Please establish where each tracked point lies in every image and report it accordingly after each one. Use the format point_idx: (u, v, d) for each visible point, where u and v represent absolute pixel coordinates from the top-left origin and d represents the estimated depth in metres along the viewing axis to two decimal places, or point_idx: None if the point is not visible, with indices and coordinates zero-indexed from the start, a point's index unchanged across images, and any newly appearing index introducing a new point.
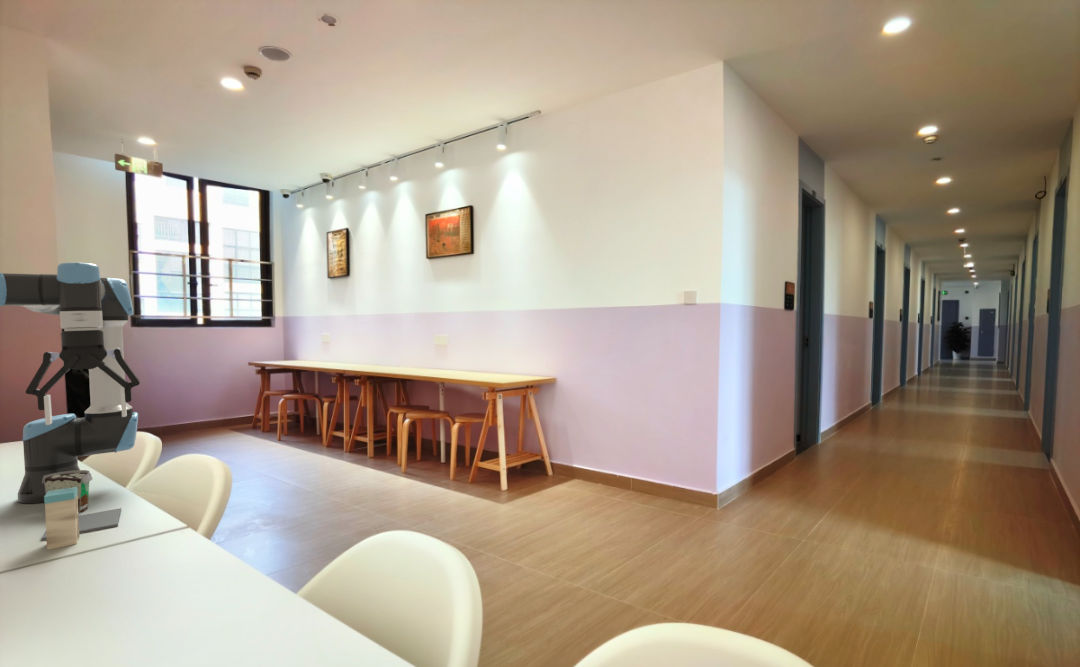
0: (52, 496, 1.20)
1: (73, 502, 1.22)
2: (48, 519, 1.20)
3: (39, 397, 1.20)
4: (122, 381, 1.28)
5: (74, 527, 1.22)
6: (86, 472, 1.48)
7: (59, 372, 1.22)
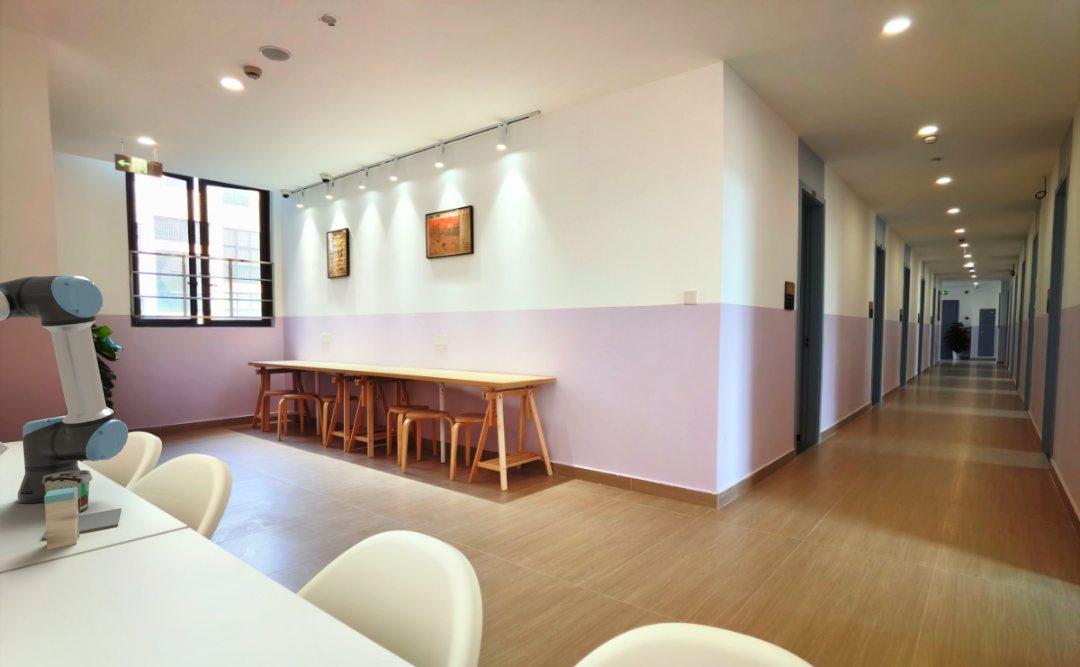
0: (52, 496, 1.20)
1: (73, 502, 1.22)
2: (48, 519, 1.20)
3: None
4: None
5: (74, 527, 1.22)
6: (86, 472, 1.48)
7: None
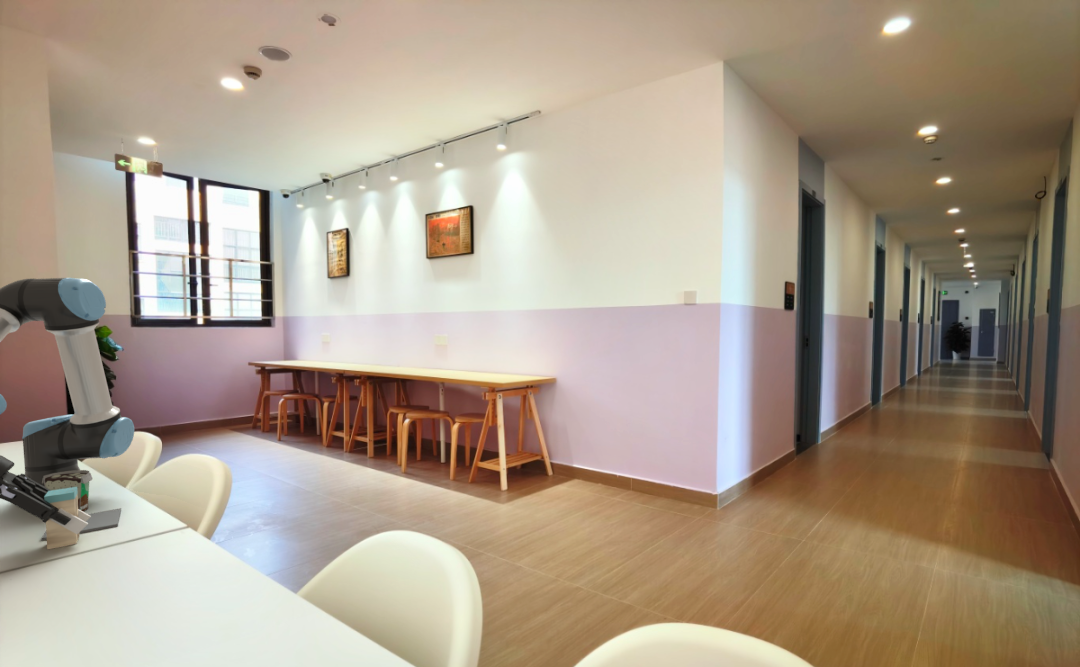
0: (52, 496, 1.20)
1: (73, 502, 1.22)
2: None
3: None
4: None
5: None
6: (86, 472, 1.48)
7: None
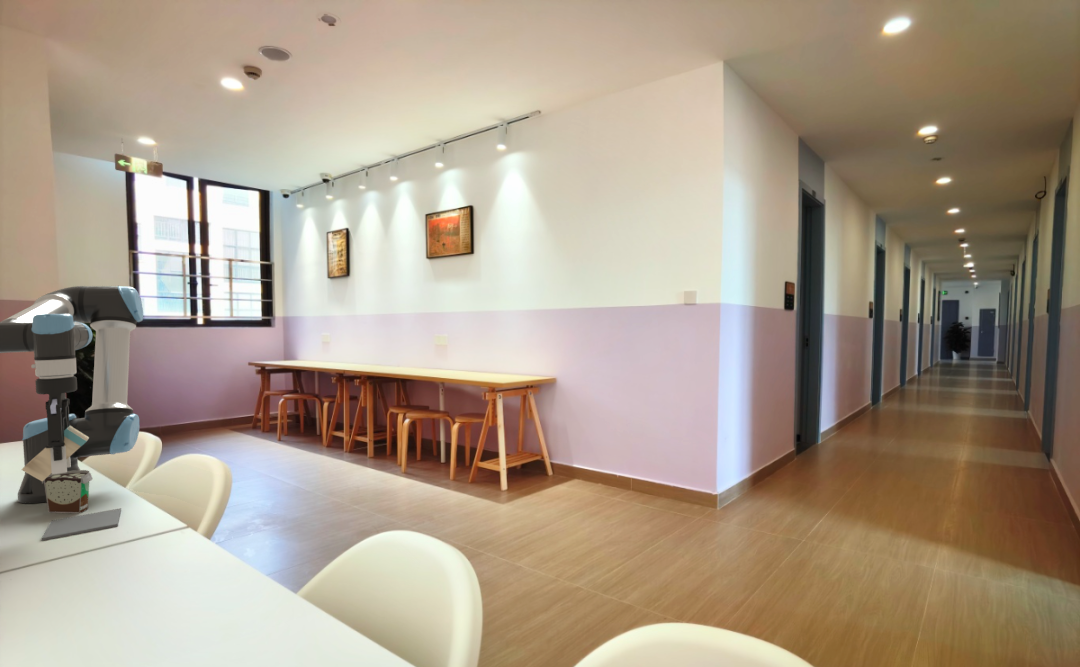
0: (71, 432, 1.31)
1: (77, 448, 1.32)
2: None
3: None
4: None
5: None
6: (86, 472, 1.48)
7: None
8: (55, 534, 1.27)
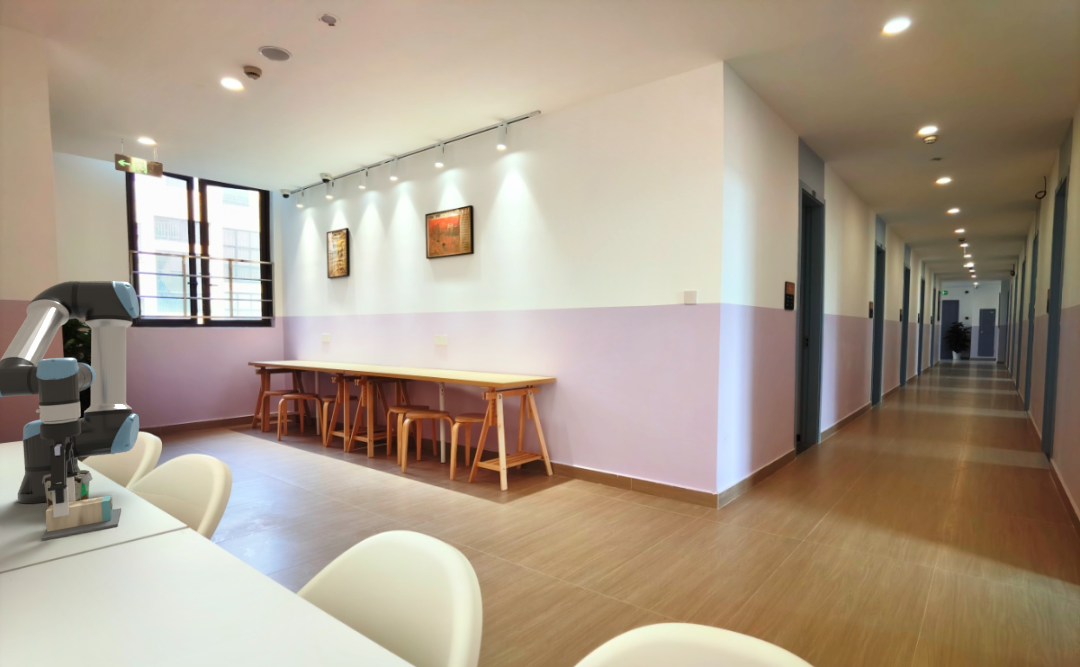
0: (108, 505, 1.35)
1: (98, 521, 1.34)
2: (82, 506, 1.32)
3: None
4: None
5: (68, 527, 1.31)
6: (86, 472, 1.48)
7: None
8: (55, 534, 1.27)
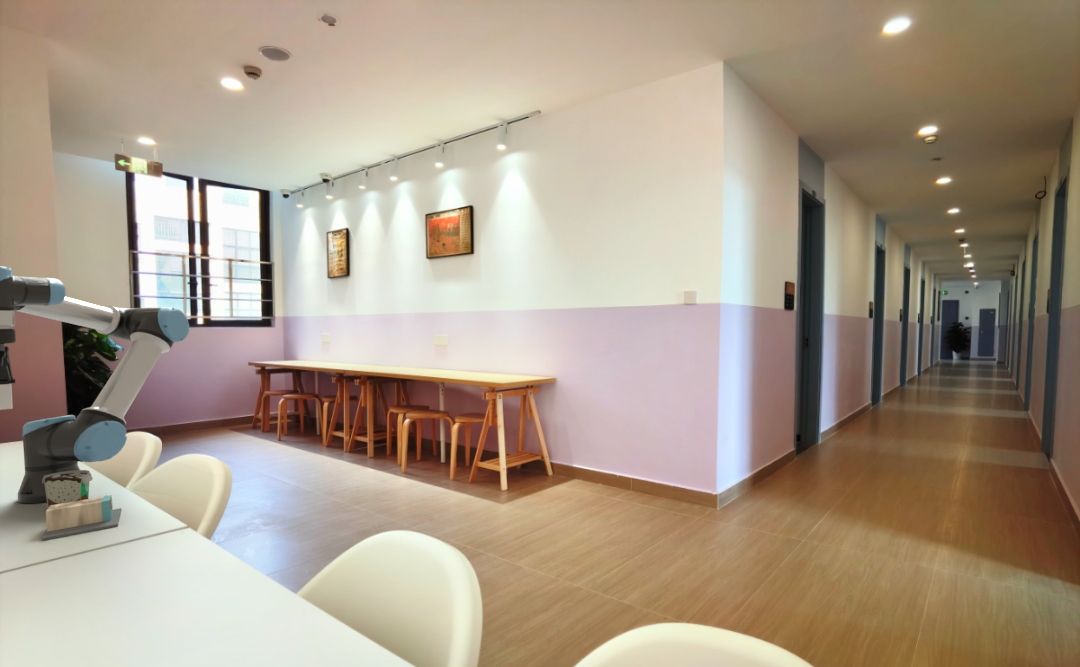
0: (108, 505, 1.35)
1: (98, 521, 1.34)
2: (82, 506, 1.32)
3: None
4: None
5: (68, 527, 1.31)
6: (86, 472, 1.48)
7: None
8: (55, 534, 1.27)
